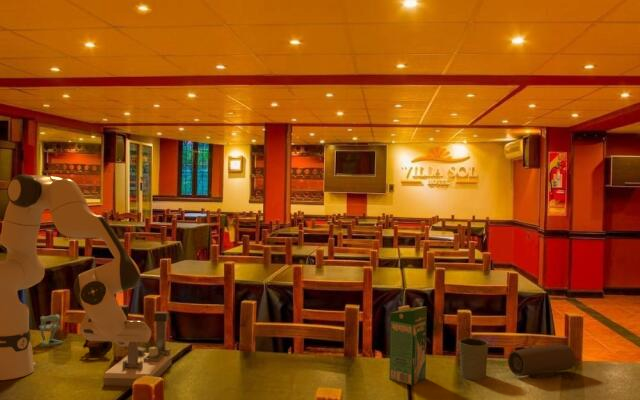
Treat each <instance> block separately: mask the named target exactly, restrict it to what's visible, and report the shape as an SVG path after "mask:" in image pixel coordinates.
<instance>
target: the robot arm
mask: <svg viewBox="0 0 640 400" xmlns="http://www.w3.org/2000/svg"><path fill="white" fill-rule="evenodd" d="M6 191H7V192H6V193H7V194H6V195H7V197H8V200H9V201H8V204H7V207H6V209H5V214H4V216H3V222H2V226H1V232H0V244H1V246H2V247H4V248H6V253H7V254H6V255H7V256H6V259H5V260H0V381H6V380H14V379H19V378H22V377H25V376H28V375H30V374H32V373H33V372H34V371H35V367H36V365H37V364H36V362H35V361H34V354H33V347H32V343H31V342H30V341H31V330H30V325H29V323H30V322H29V321H30V318H29V316H30V311H29V307H28V306H27V305H26V304H25V303H23V302H21V301H20V298H19V295H18V291H21V290H24V289H25V290H26V289H29V288H31V287H34V286H36V285H37V284H38V283H40V282H41V281H42V280H43V279H44V277H45V272H46V271H45V265H44V264H43V262H42V261H41V260H40V259H39V257H38V251H37V244H38V238H39V233H40V228H41V223H42V219H43V214H44V211H45V210H46V209H47V210H49V213H50V216H51V219H52V222H53V224H54V226H55V228H56V230H57V231H58V232H59V233H60V234H61V235H64V236H65V237H69V238H74V239H85V238H86V239H87V238H91V239H92V238H93V239H100V240H101V241H103V242H104V243H105V244H106V246H107V248H108V250H109V252H110V253H111V254H112V256H113V257H114V258H113V260H112V261H110V262H106V263H104V264H102V265H100V266H97V267H94V268H91V269H89V270H85V271H83V272H81V273H80V274H78V275H77V276H76V278H75V281H74V283H73V293H74V295H75V298H76V300H77V302H78V303H79V306H81V308H83V310H84V312H85V314H84V316H83V319H82V320H81V321H82V322H81V324H80V328H79V330H80V333H81V335H82V336H83V337H84V339H85V340H86V339H87V340H89V341H111V342H112V343H113V344H114V343H116V344H118V346H128V345H129V342H138V343H148V342H149V341H150V339H151V336H152V330H151V328H150V327H149V325H147V323H146V322H144V321H143V320H130V319H129V320H127V318H126V316H125V314H124V312H123V310H122V308H121V307H120V305H119V302H118V299H117V298H116V296H115V295H116V294H119V293H121V292H126V291H129V290H131V289H135V288H136V286H137V285H138V284H139V282H140V281H141V279H142V278H141V271H140V269H139V266H138V265H137V263H136V262H135V261H134V259H133V258H132V257H131V256H130V255H129V254H128V252H127V251H126V249H125V247H124V245H123V243H122V242H121V240H120V239H119V238H118V235H117V234H116V232H115V231H114V230H113V228H112V227H111V225H110V223H108V221H107V219H106V218H105V217H104V216H103V215H99V214H98V215H97V214H96V213H94V212H93V211H92V210H91V209H90V207H89V204H88V202H87V200H86V198H85V195H84V193H83V191H82V190H81V188H80V187H79V185H78V183H76V182H75V180H72V179H70V178H67V177H58V176H52V175H47V174H46V175H39V174H38V175H37V174H35V175H34V174H33V175H32V174H31V175H30V174H28V173H27V174H18V175H14V176H13V177H12V178H11V179H10V181H9V183H8V185H7V190H6Z"/></svg>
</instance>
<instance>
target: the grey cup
mask: <svg viewBox="0 0 640 400" xmlns="http://www.w3.org/2000/svg"><path fill="white" fill-rule="evenodd" d="M489 346H490V345H489V341H487V340H485V339H481V338H475V337H464V338H460V339H459V340H458V350H459V351H458V352H459V361H460V362H459V363H460V364H459V365H460V368H459V369H460V370H459V372H460V377H462V378H464V379H467V380H470V381H482V380H485V379H486V378H487V363H488V352H489Z"/></svg>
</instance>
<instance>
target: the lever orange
mask: <svg viewBox="0 0 640 400" xmlns="http://www.w3.org/2000/svg"><path fill="white" fill-rule="evenodd" d="M138 347H139V342H129V345H128V363H126V368H136V369H138V368H139V363H138Z"/></svg>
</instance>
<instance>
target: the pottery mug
mask: <svg viewBox="0 0 640 400" xmlns="http://www.w3.org/2000/svg"><path fill="white" fill-rule="evenodd" d="M82 347H83V349H85V348H88V352H85V353H84V358H85V360H89V359H101V358H102V356H103V355H104V356H107V355H108V352H110V351H111V349H113V342H112V341H89V340H87V339H85V342H84V343H83V345H82Z"/></svg>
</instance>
